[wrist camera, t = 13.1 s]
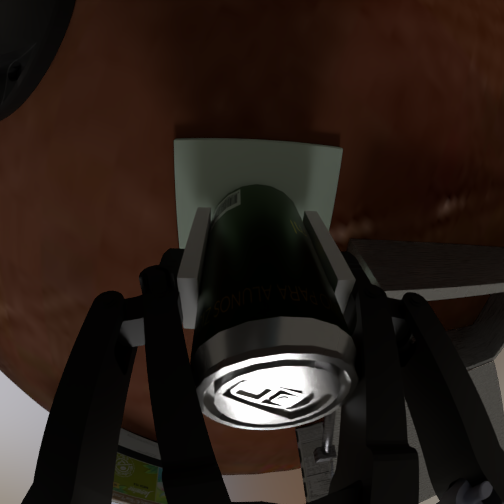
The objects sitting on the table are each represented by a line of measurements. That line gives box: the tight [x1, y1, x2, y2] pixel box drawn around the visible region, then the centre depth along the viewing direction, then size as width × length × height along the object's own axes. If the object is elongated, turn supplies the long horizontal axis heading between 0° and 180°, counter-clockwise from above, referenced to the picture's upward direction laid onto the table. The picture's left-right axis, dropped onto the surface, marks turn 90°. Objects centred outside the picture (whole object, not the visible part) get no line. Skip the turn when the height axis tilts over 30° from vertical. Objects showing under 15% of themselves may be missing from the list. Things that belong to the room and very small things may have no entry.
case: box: [313, 239, 504, 503], centre depth 17 cm, size 18×25×18 cm
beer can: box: [190, 184, 359, 430], centre depth 13 cm, size 5×5×12 cm
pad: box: [174, 138, 343, 249], centre depth 18 cm, size 10×10×1 cm
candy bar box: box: [295, 422, 331, 503], centre depth 33 cm, size 11×5×16 cm, turn 22°
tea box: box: [112, 428, 168, 504], centre depth 36 cm, size 15×10×15 cm
